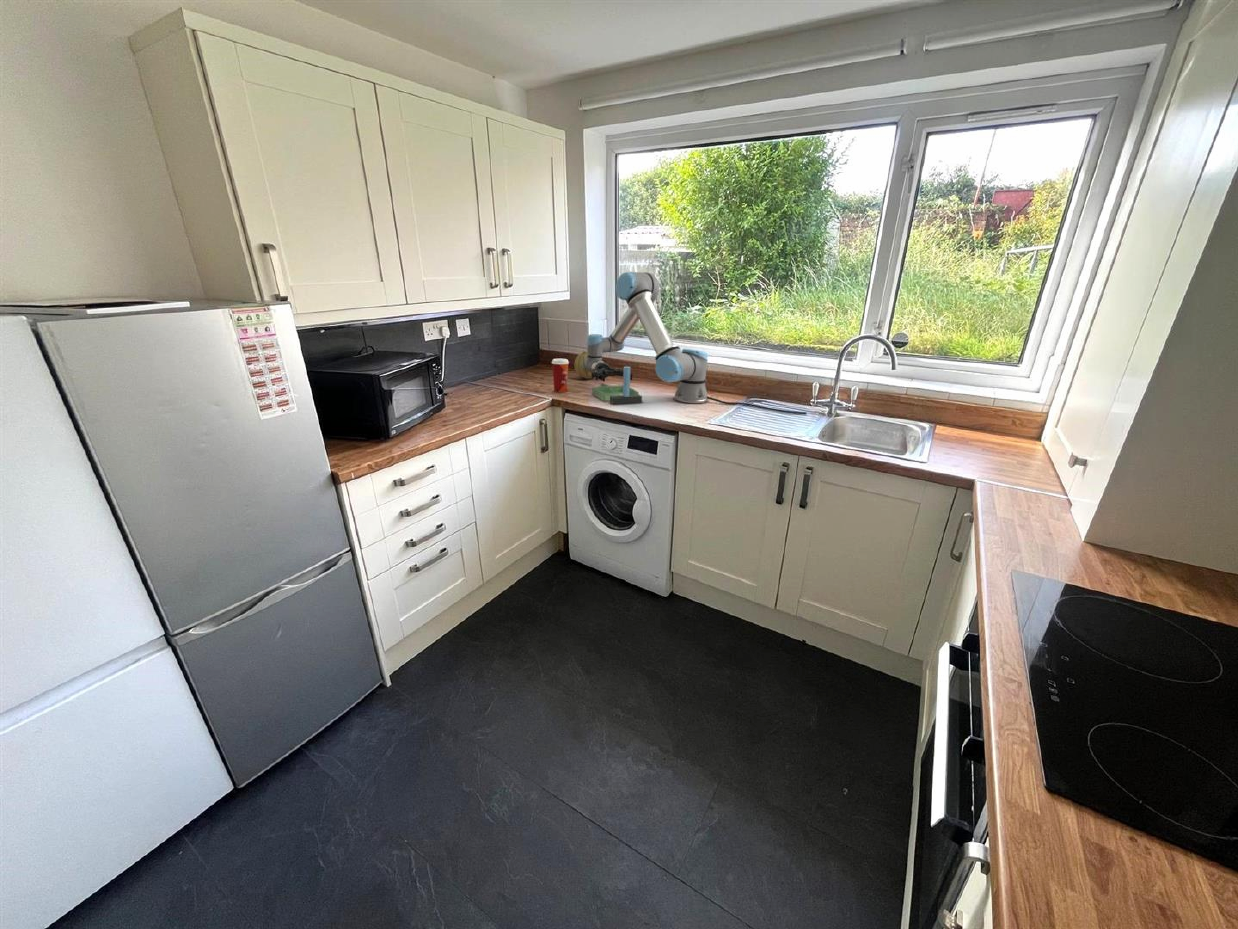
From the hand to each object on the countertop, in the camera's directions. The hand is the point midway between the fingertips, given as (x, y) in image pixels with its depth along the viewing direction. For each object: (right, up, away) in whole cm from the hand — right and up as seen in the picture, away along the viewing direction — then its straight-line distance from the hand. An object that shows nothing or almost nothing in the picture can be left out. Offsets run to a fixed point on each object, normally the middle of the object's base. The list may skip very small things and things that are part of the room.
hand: (618, 377), depth 229 cm
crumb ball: (+2, -9, -2) cm, 10 cm away
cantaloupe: (-16, +7, +41) cm, 45 cm away
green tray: (-3, -6, +10) cm, 12 cm away
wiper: (+4, -12, -5) cm, 13 cm away
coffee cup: (-28, -4, +13) cm, 31 cm away
